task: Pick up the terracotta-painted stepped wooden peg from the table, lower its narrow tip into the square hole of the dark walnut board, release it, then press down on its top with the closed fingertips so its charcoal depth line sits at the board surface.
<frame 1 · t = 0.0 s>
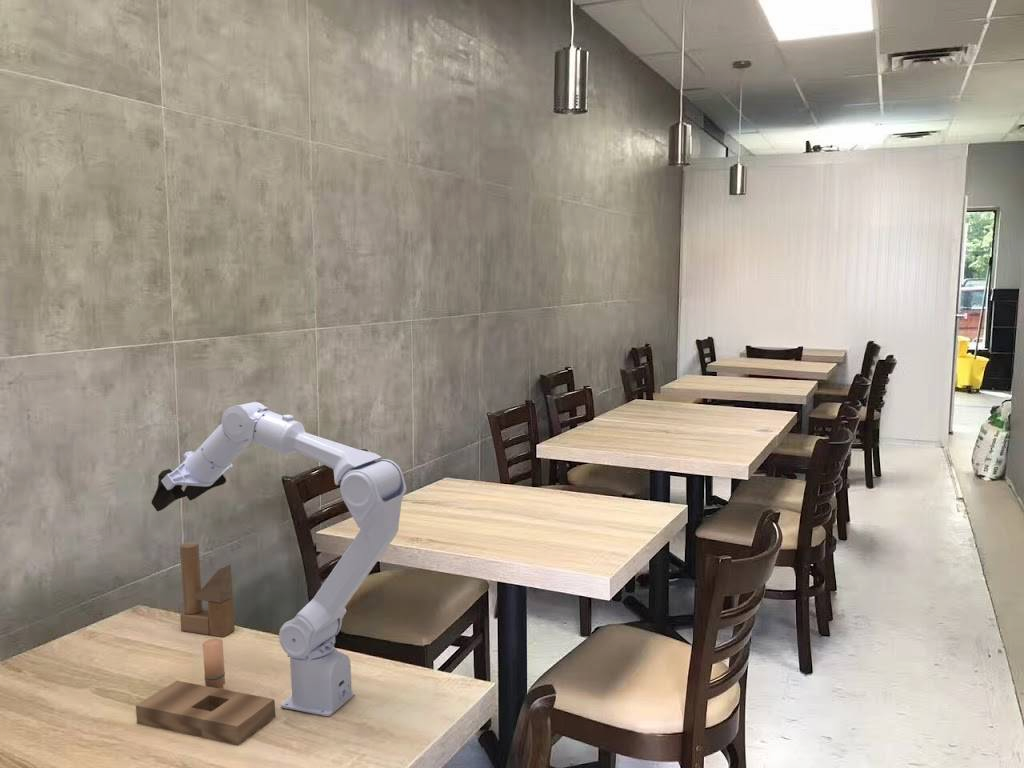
hand: (172, 501, 146), 32 cm above the table, tool tilted 50°, fingers open, 7 cm apart
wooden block: (208, 632, 170), on the table
peg: (215, 692, 144), on the table
board: (206, 719, 134), on the table
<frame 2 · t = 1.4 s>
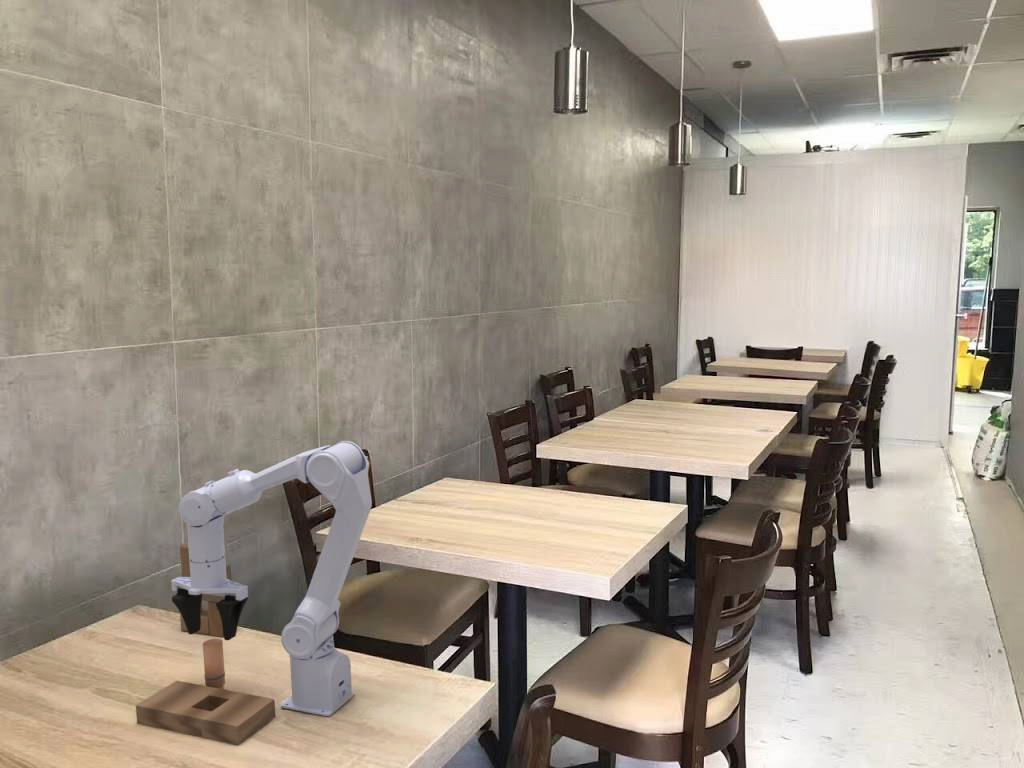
hand: (212, 635, 142), 10 cm above the table, tool pointing down, fingers open, 7 cm apart
nothing on the table moved.
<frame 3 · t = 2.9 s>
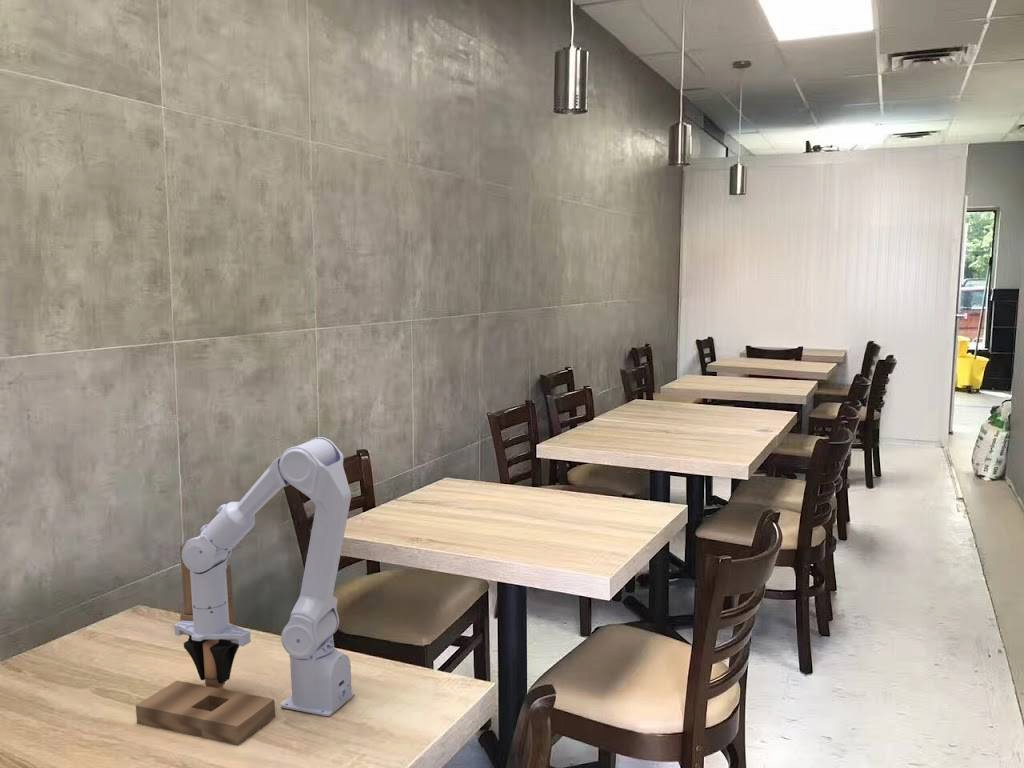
hand: (215, 679, 143), 2 cm above the table, tool pointing down, fingers closed on peg, 3 cm apart
peg: (215, 692, 144), on the table, touching gripper
everything else where it was.
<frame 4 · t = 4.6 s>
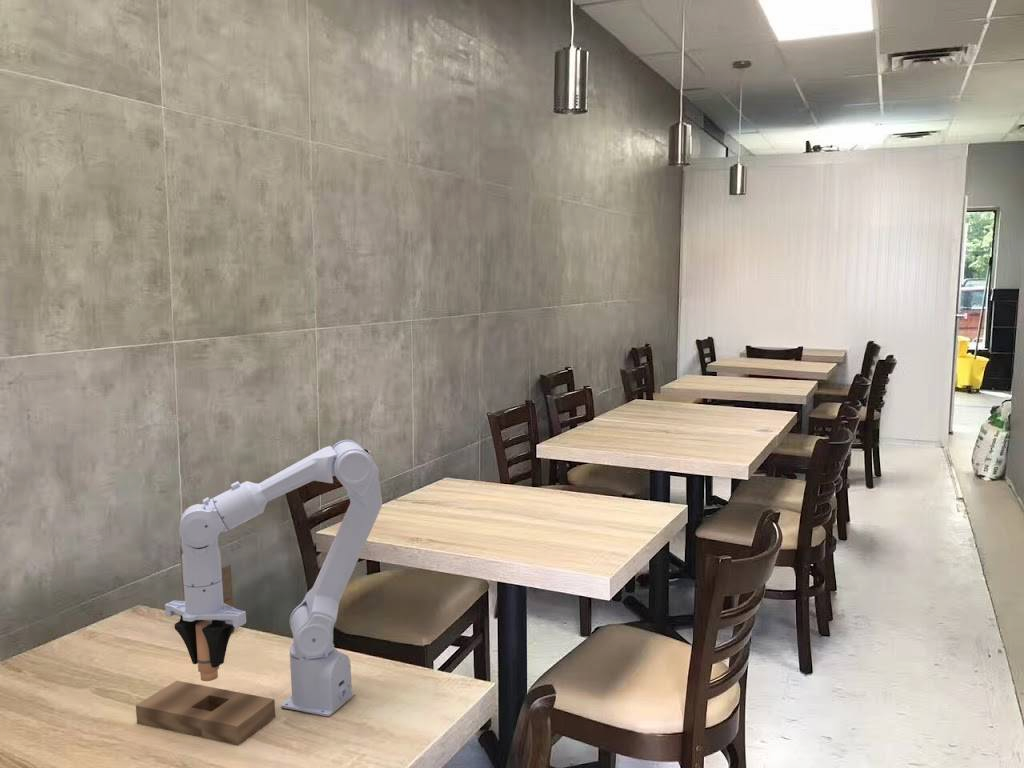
hand: (208, 663, 134), 9 cm above the table, tool pointing down, fingers closed on peg, 3 cm apart
peg: (209, 677, 134), point 7 cm above the table, touching gripper
everything else where it was.
when the fingers open (4 cm above the table, at t = 6.3 s): peg drops 2 cm, resting in board.
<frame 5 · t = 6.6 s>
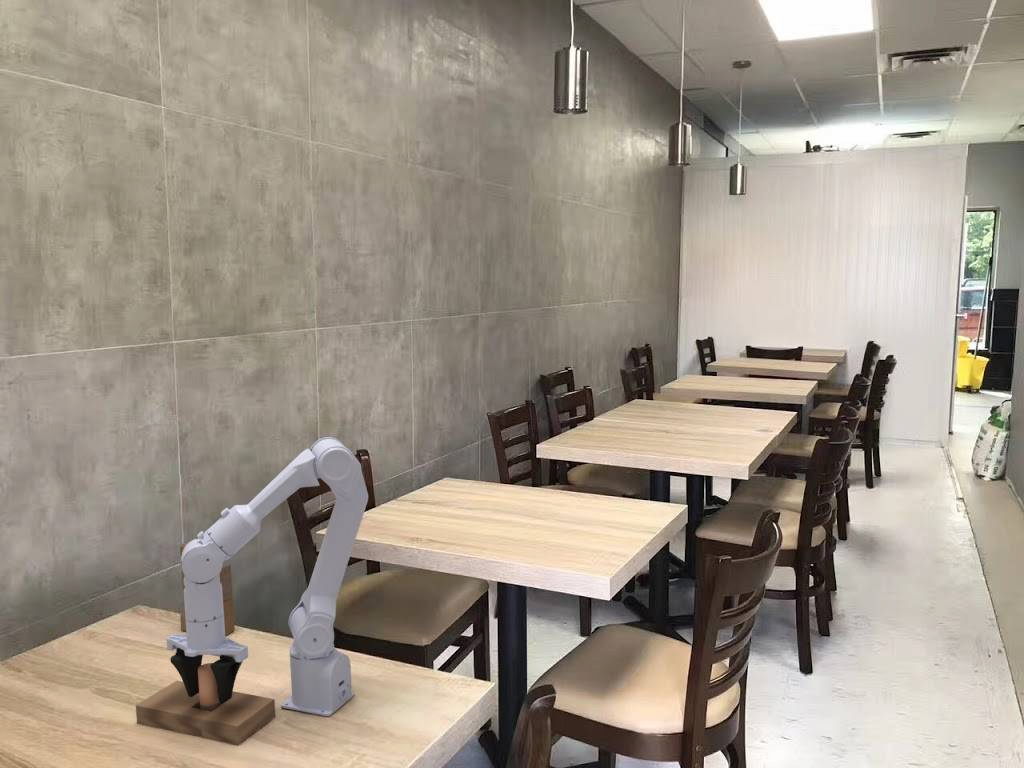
hand: (210, 697, 134), 4 cm above the table, tool pointing down, fingers open, 6 cm apart
peg: (211, 720, 134), resting in board
everything else where it was.
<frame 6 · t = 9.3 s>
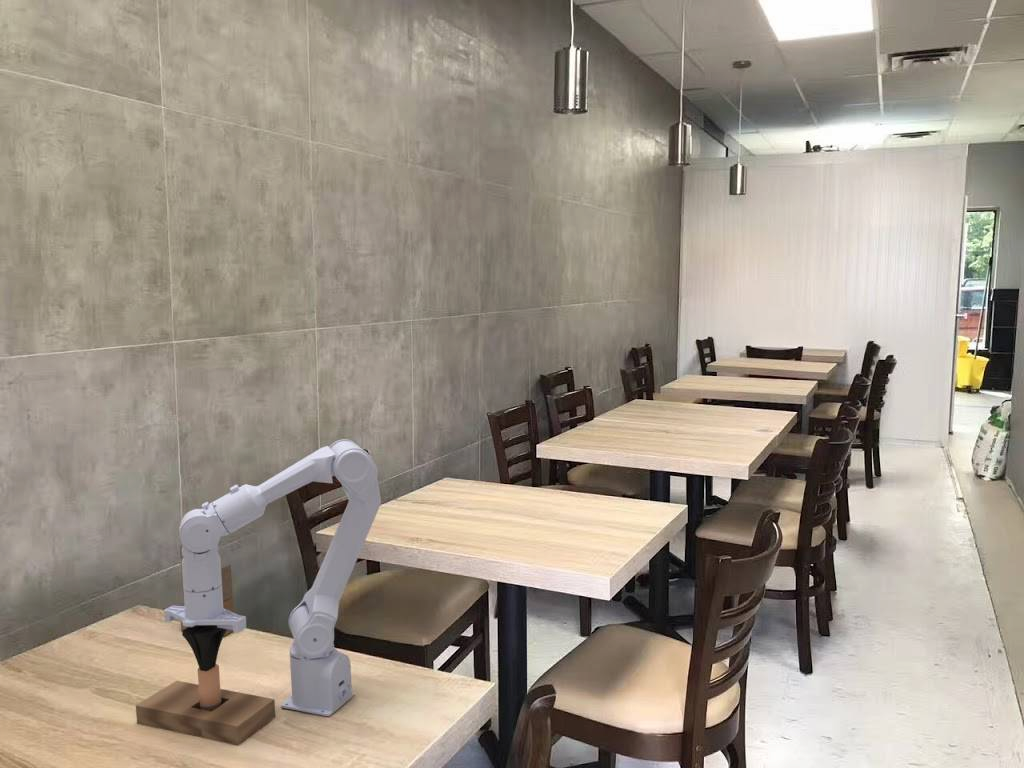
hand: (207, 668, 133), 9 cm above the table, tool pointing down, fingers closed, pressing on peg
peg: (211, 721, 134), resting in board, touching gripper
everything else where it was.
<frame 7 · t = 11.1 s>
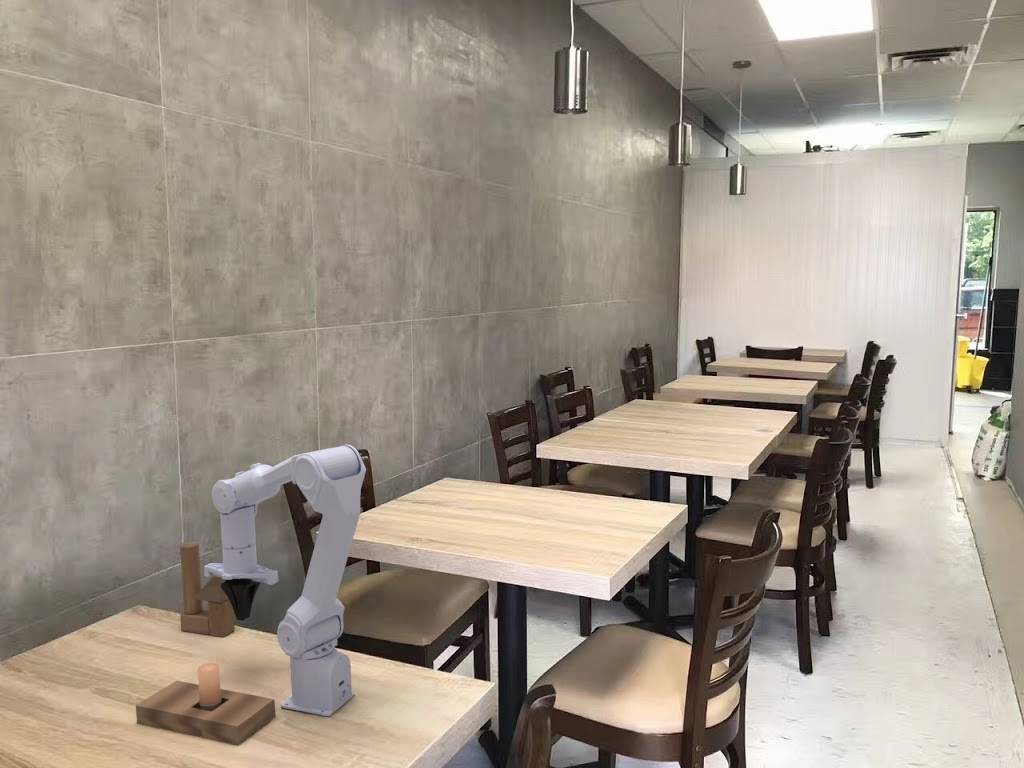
hand: (243, 618, 149), 10 cm above the table, tool pointing down, fingers closed
peg: (211, 720, 134), resting in board
everything else where it was.
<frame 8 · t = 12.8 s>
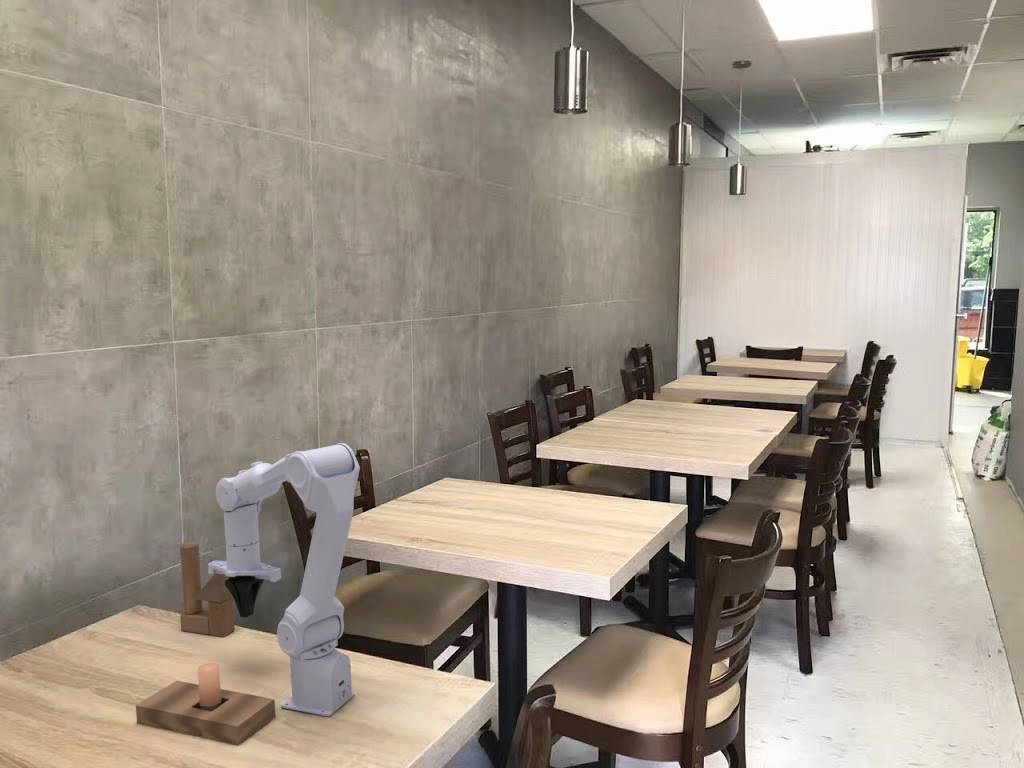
hand: (246, 615, 151), 10 cm above the table, tool pointing down, fingers closed
nothing on the table moved.
at the end: peg 0.0 cm from the target spot on the board, point 0.0 cm above the board's base; peg tilted 0°; the gripper is holding nothing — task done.
